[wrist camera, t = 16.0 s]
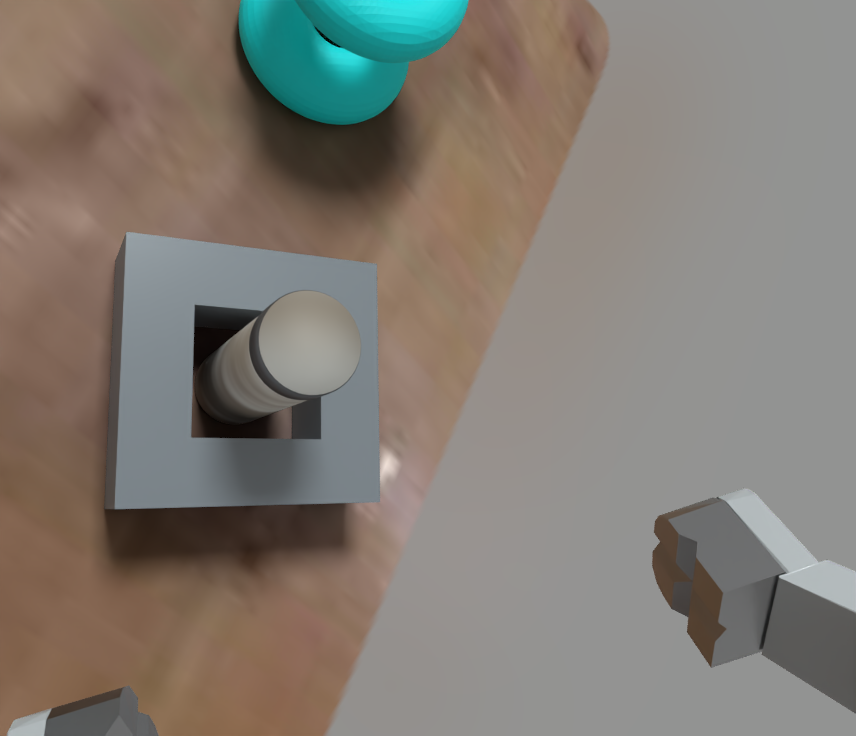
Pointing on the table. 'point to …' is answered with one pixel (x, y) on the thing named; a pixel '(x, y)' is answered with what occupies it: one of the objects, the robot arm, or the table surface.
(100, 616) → the table surface
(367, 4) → the donuts
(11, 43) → the table surface
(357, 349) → the peg
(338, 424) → the socket
